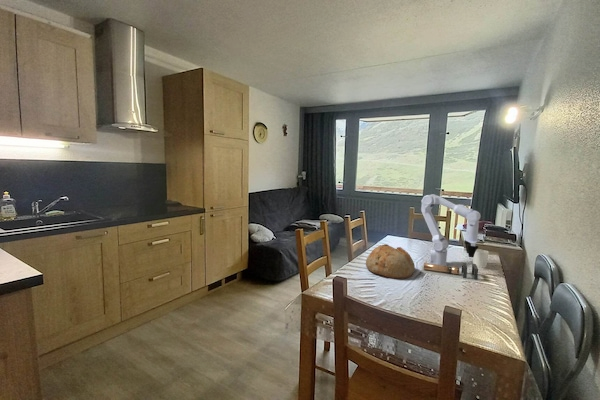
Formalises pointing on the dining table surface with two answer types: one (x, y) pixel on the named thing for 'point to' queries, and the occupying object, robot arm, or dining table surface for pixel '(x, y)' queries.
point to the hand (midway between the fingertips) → (469, 255)
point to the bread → (390, 262)
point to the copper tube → (441, 268)
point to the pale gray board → (469, 275)
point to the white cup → (480, 258)
